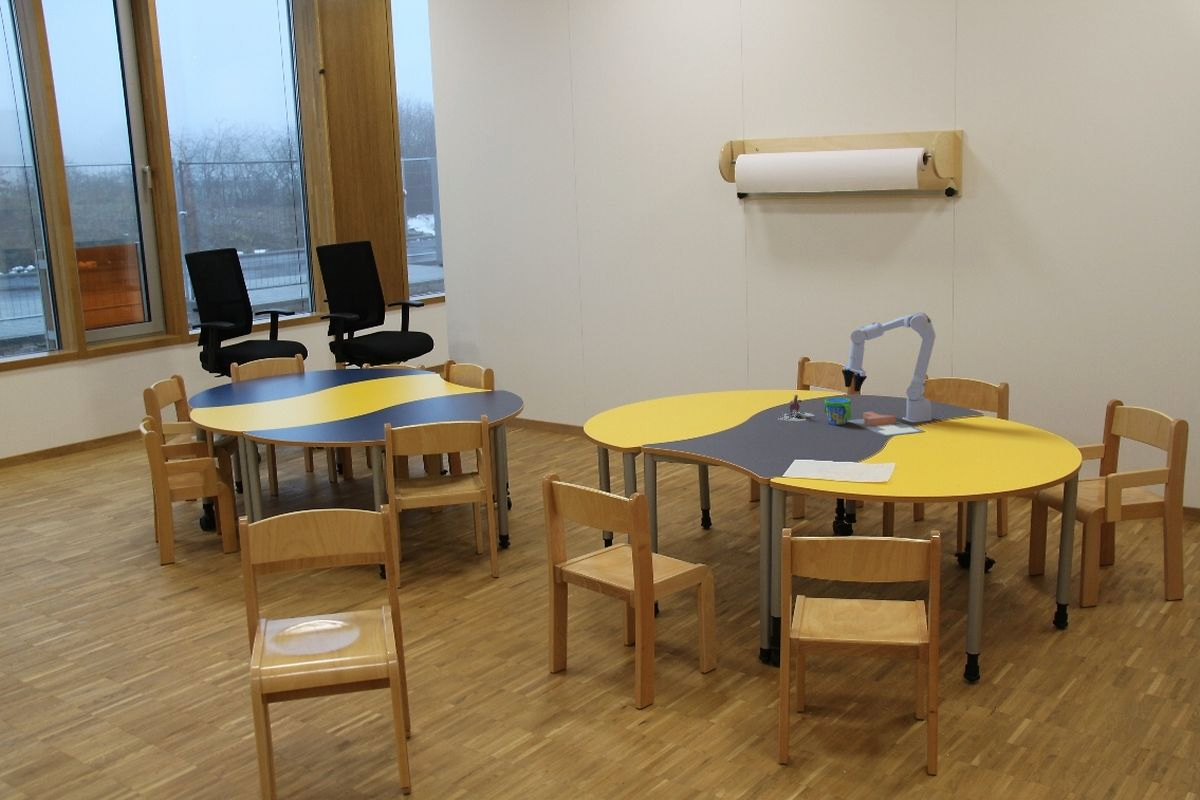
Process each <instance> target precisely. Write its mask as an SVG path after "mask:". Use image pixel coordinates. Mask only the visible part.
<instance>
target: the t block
mask: <svg viewBox="0 0 1200 800" xmlns="http://www.w3.org/2000/svg"><path fill="white" fill-rule="evenodd" d="M862 417H863V418H862V419H863V420H864V424H865V425H868V426H876V425H886V424H895V423H896V421H897V417H896V415H893V414H879V413H877V412H874V411H866V412H865V411H864V412H862Z"/></svg>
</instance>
